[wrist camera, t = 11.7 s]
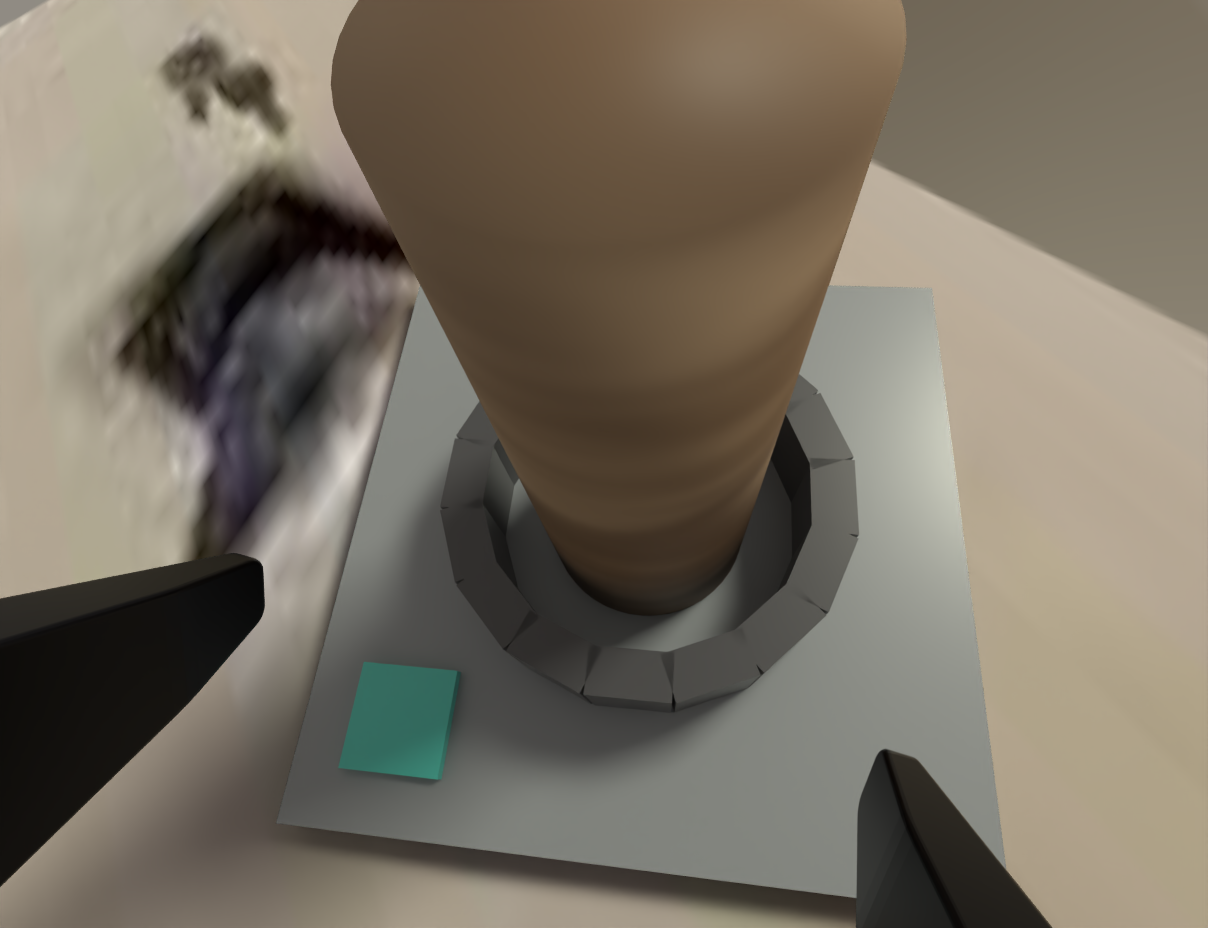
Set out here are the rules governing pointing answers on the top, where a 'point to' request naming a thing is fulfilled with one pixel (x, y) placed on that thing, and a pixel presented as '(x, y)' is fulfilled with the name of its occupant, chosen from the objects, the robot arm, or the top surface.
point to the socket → (658, 639)
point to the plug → (624, 240)
